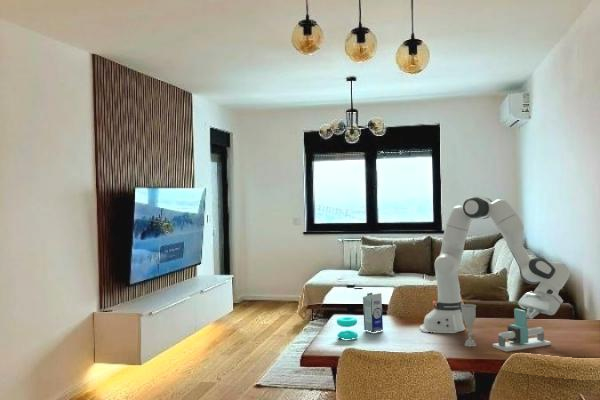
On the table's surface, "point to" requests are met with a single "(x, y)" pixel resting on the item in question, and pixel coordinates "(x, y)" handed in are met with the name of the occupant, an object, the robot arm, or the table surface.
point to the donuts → (347, 323)
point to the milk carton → (373, 312)
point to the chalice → (469, 320)
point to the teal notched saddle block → (521, 324)
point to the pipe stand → (517, 346)
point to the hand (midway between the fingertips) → (528, 317)
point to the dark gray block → (517, 332)
